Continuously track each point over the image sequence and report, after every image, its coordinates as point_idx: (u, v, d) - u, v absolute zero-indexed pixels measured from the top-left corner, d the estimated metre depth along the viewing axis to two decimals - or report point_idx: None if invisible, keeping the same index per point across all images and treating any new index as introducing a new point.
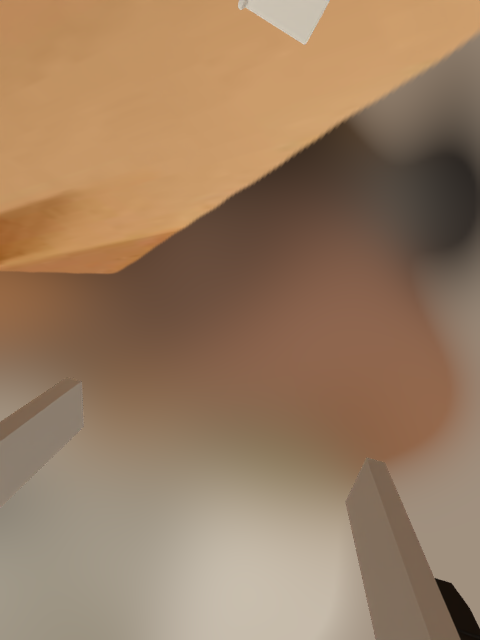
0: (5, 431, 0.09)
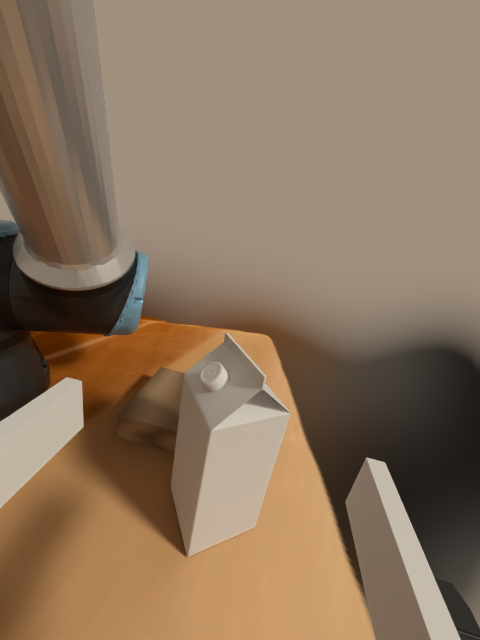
0: (5, 431, 0.09)
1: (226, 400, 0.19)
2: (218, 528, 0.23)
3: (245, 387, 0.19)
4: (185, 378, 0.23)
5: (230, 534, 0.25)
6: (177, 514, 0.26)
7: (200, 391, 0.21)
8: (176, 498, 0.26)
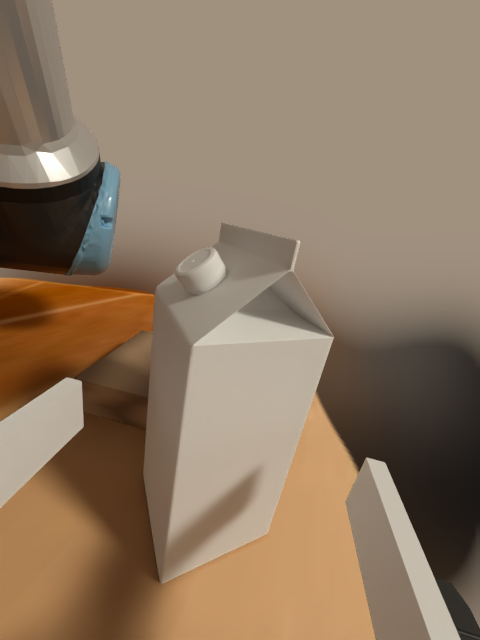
0: (5, 431, 0.09)
1: (222, 299, 0.10)
2: (211, 537, 0.14)
3: (258, 275, 0.10)
4: (156, 293, 0.14)
5: (230, 546, 0.16)
6: (149, 515, 0.17)
7: (177, 299, 0.12)
8: (148, 490, 0.17)
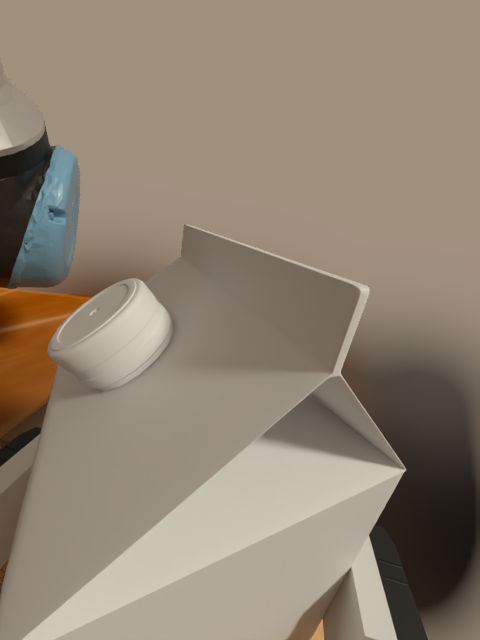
0: None
1: (138, 435, 0.04)
2: None
3: (238, 368, 0.04)
4: None
5: None
6: None
7: (70, 390, 0.06)
8: None
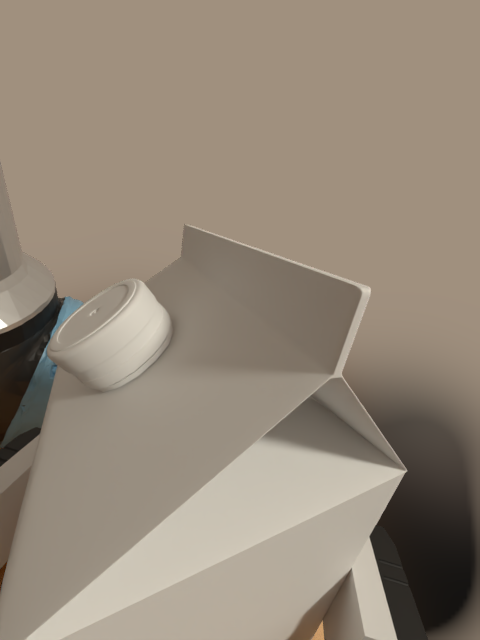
0: None
1: (138, 436, 0.04)
2: None
3: (239, 369, 0.04)
4: None
5: None
6: None
7: (70, 391, 0.06)
8: None
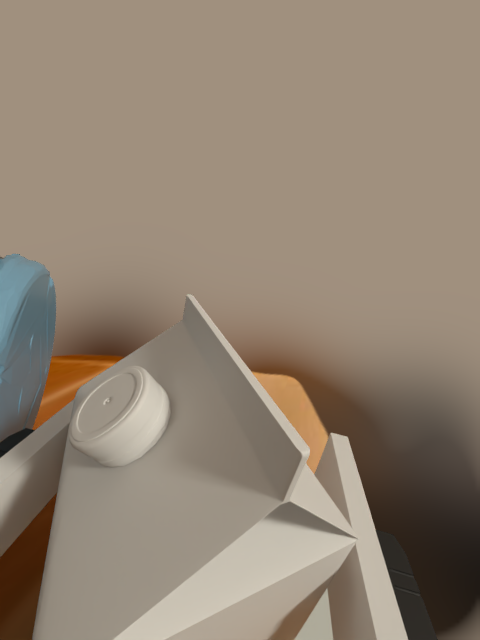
0: (62, 422, 0.10)
1: (138, 522, 0.05)
2: None
3: (218, 475, 0.05)
4: (73, 404, 0.09)
5: None
6: None
7: (82, 456, 0.07)
8: None
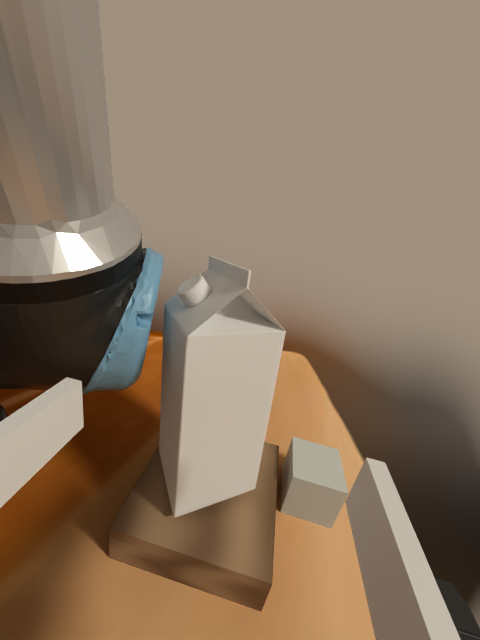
0: (5, 431, 0.09)
1: (206, 308, 0.16)
2: (209, 483, 0.20)
3: (229, 292, 0.16)
4: (165, 307, 0.20)
5: (225, 494, 0.21)
6: (164, 475, 0.23)
7: (179, 310, 0.18)
8: (163, 457, 0.23)
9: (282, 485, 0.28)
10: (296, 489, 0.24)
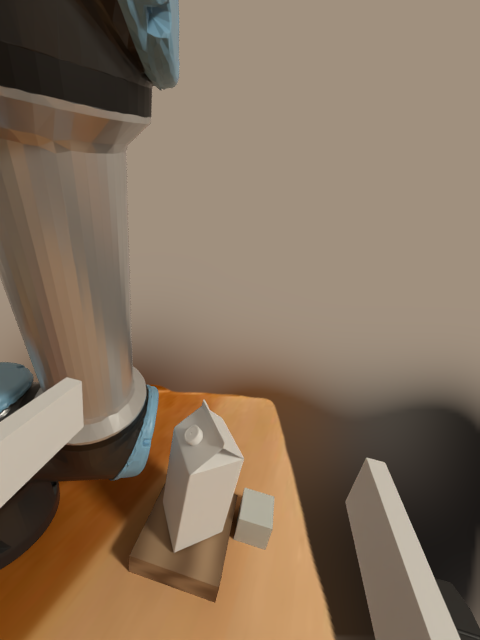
0: (5, 431, 0.09)
1: (200, 454, 0.30)
2: (195, 533, 0.34)
3: (213, 445, 0.30)
4: (174, 431, 0.34)
5: (204, 537, 0.36)
6: (167, 523, 0.37)
7: (184, 444, 0.32)
8: (167, 511, 0.37)
9: (237, 520, 0.42)
10: (241, 526, 0.39)
